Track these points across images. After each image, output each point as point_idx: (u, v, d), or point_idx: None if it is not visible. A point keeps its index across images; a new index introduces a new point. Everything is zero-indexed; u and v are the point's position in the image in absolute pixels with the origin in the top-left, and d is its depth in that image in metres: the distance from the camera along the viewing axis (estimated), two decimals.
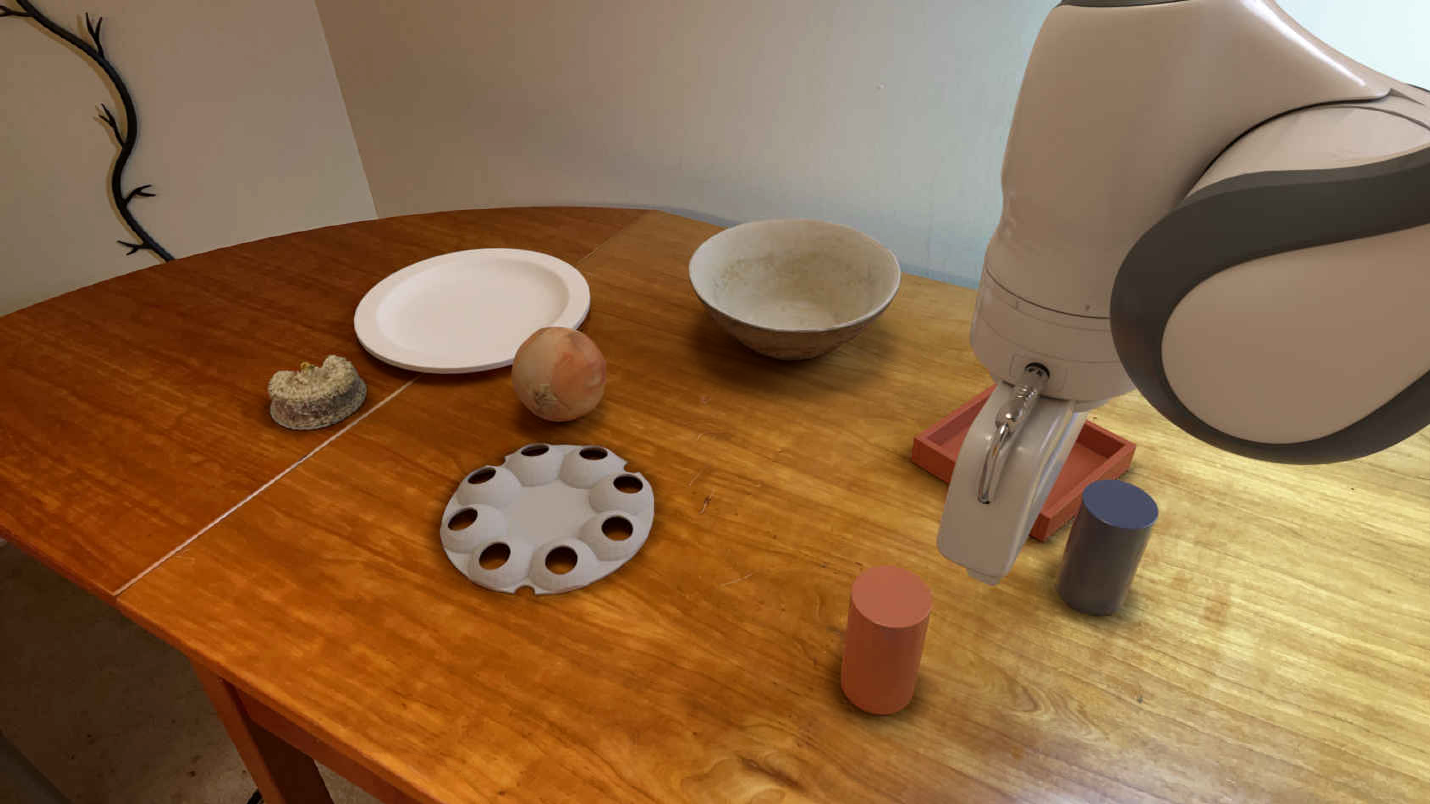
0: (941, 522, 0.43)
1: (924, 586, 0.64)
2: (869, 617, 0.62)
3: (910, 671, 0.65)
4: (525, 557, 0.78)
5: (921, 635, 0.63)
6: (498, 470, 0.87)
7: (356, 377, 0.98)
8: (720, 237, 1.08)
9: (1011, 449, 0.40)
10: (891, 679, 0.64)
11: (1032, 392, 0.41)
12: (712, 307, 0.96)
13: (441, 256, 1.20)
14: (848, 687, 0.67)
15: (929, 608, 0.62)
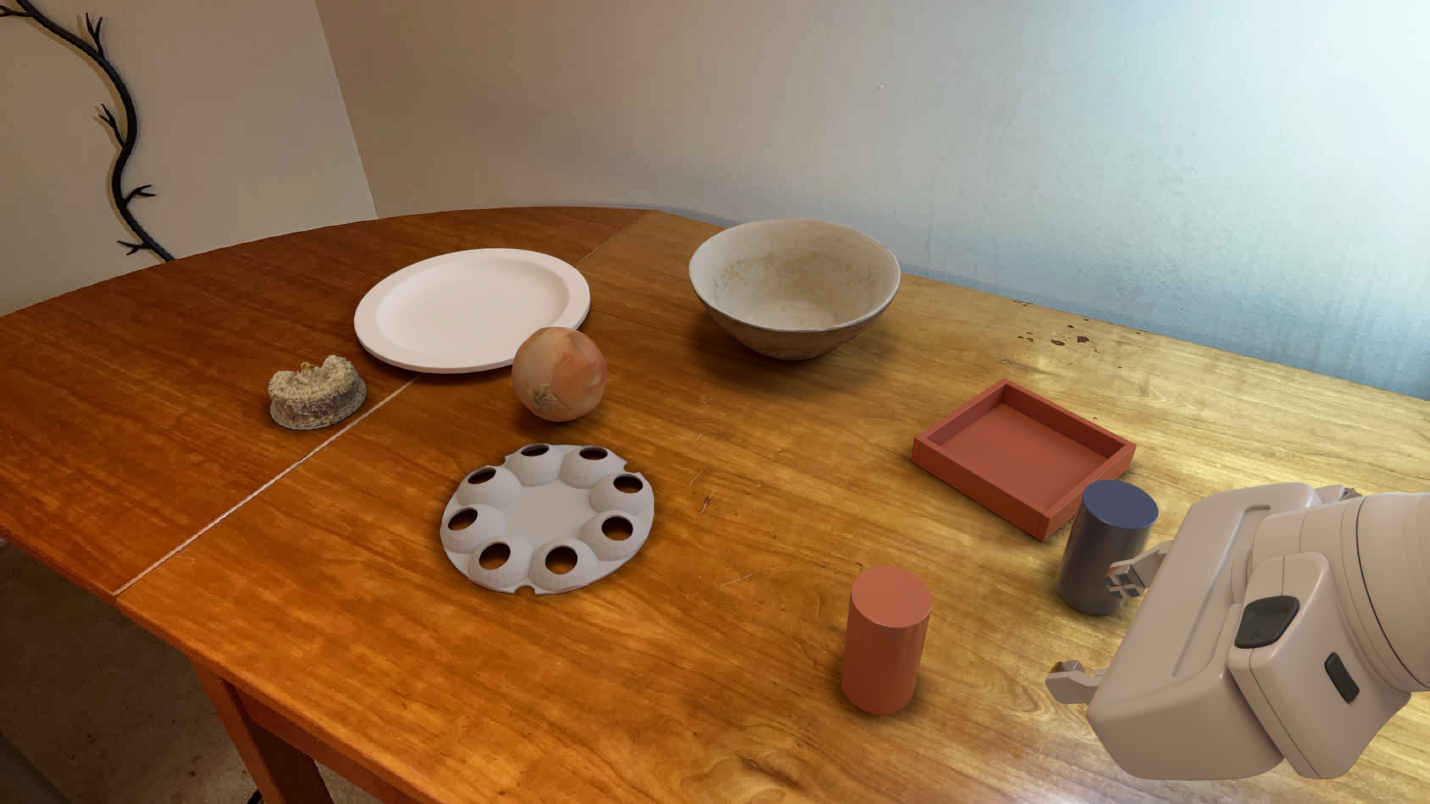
0: None
1: (924, 586, 0.64)
2: (869, 617, 0.62)
3: (910, 671, 0.65)
4: (525, 557, 0.78)
5: (921, 635, 0.63)
6: (498, 470, 0.87)
7: (356, 377, 0.98)
8: (720, 237, 1.08)
9: (1322, 501, 0.50)
10: (891, 679, 0.64)
11: None
12: (712, 307, 0.96)
13: (441, 256, 1.20)
14: (848, 687, 0.67)
15: (929, 608, 0.62)
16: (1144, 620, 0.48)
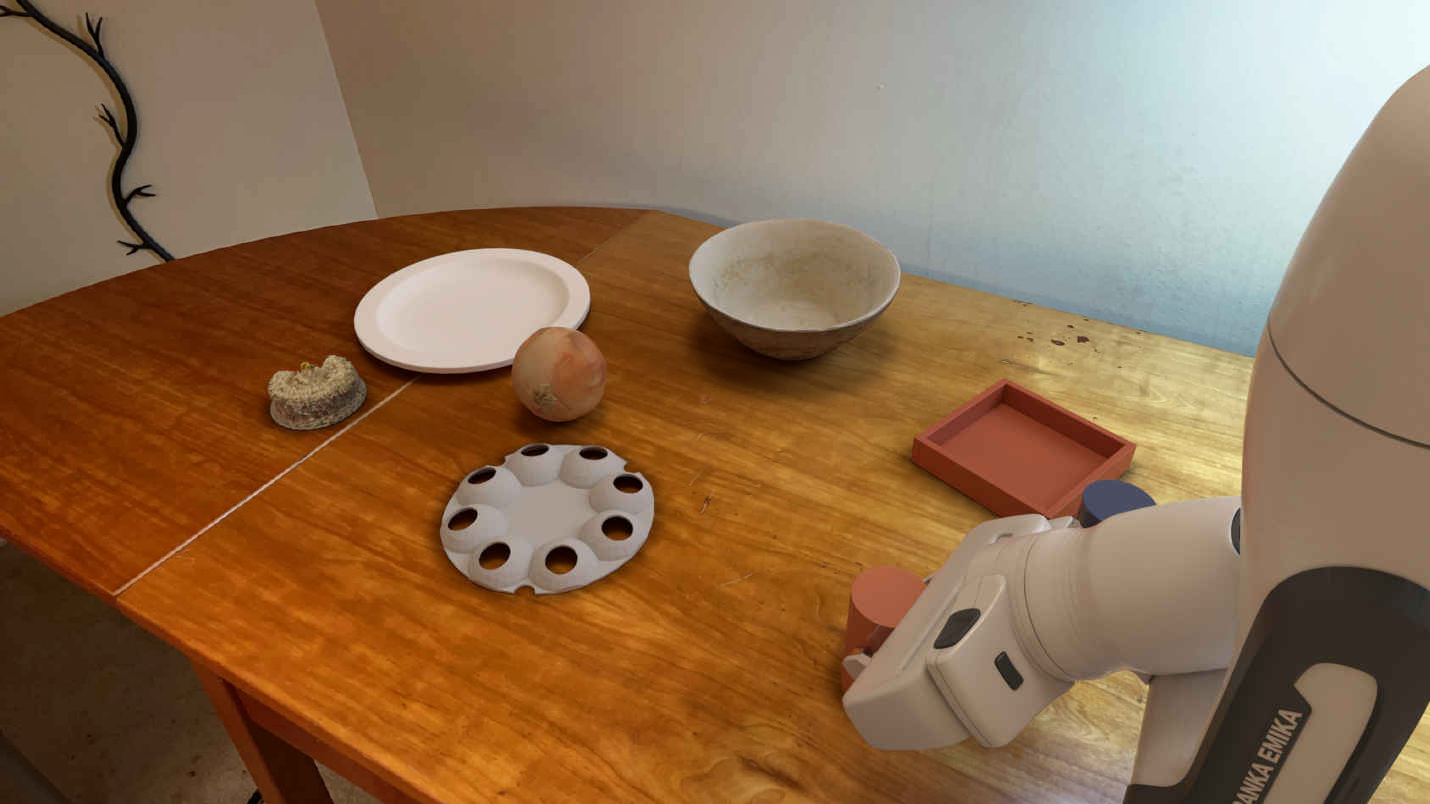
0: None
1: (924, 586, 0.64)
2: (869, 617, 0.62)
3: None
4: (525, 557, 0.78)
5: None
6: (498, 470, 0.87)
7: (356, 377, 0.98)
8: (720, 237, 1.08)
9: None
10: None
11: None
12: (712, 307, 0.96)
13: (441, 256, 1.20)
14: (848, 687, 0.67)
15: None
16: (902, 626, 0.60)
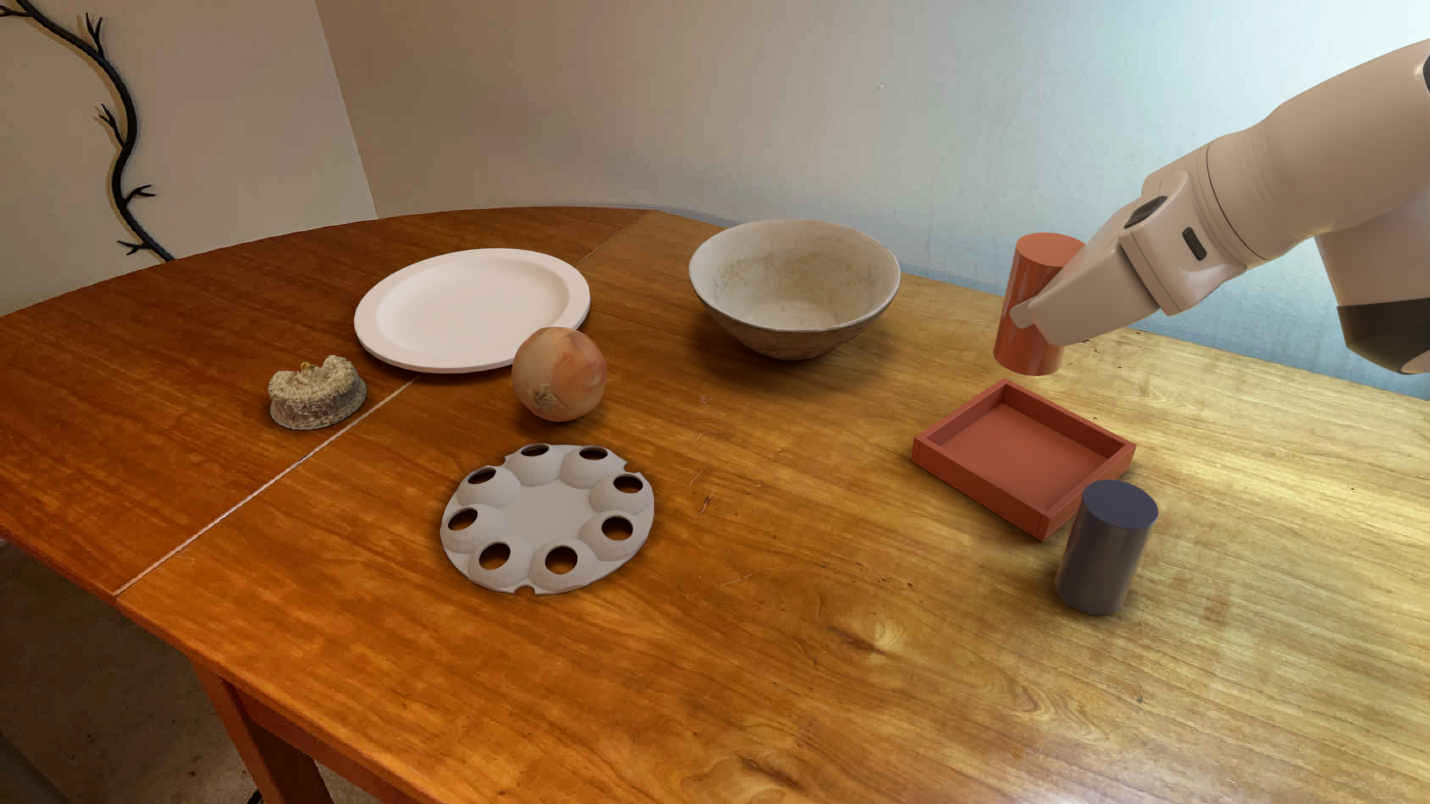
0: None
1: (1082, 243, 0.70)
2: (1037, 261, 0.68)
3: None
4: (525, 557, 0.78)
5: None
6: (498, 470, 0.87)
7: (356, 377, 0.98)
8: (720, 237, 1.08)
9: None
10: None
11: None
12: (712, 307, 0.96)
13: (441, 256, 1.20)
14: (1005, 353, 0.74)
15: None
16: (1072, 261, 0.66)
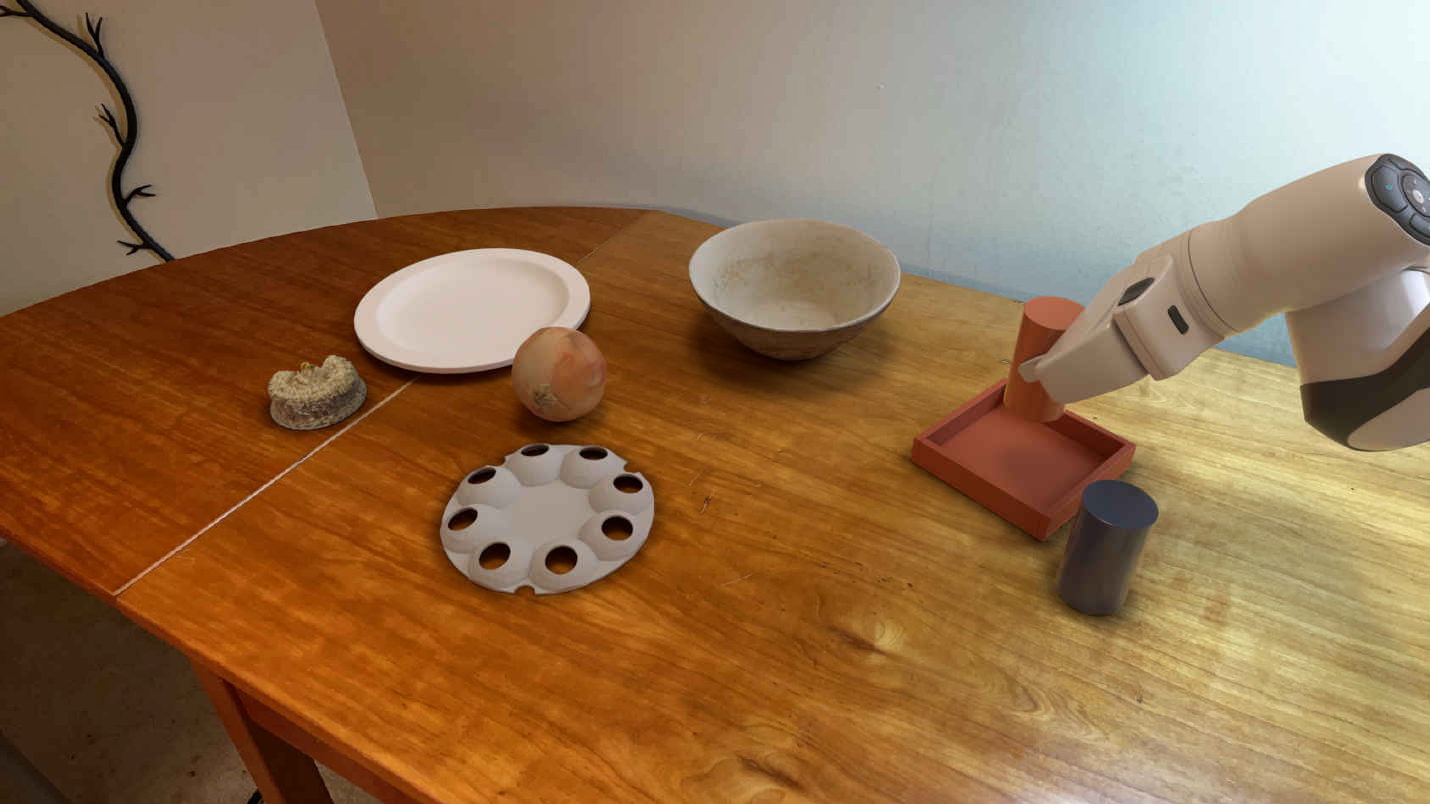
0: None
1: (1082, 307, 0.79)
2: (1042, 324, 0.77)
3: None
4: (525, 557, 0.78)
5: None
6: (498, 470, 0.87)
7: (356, 377, 0.98)
8: (720, 237, 1.08)
9: None
10: None
11: None
12: (712, 307, 0.96)
13: (441, 256, 1.20)
14: (1014, 401, 0.83)
15: None
16: (1073, 326, 0.76)
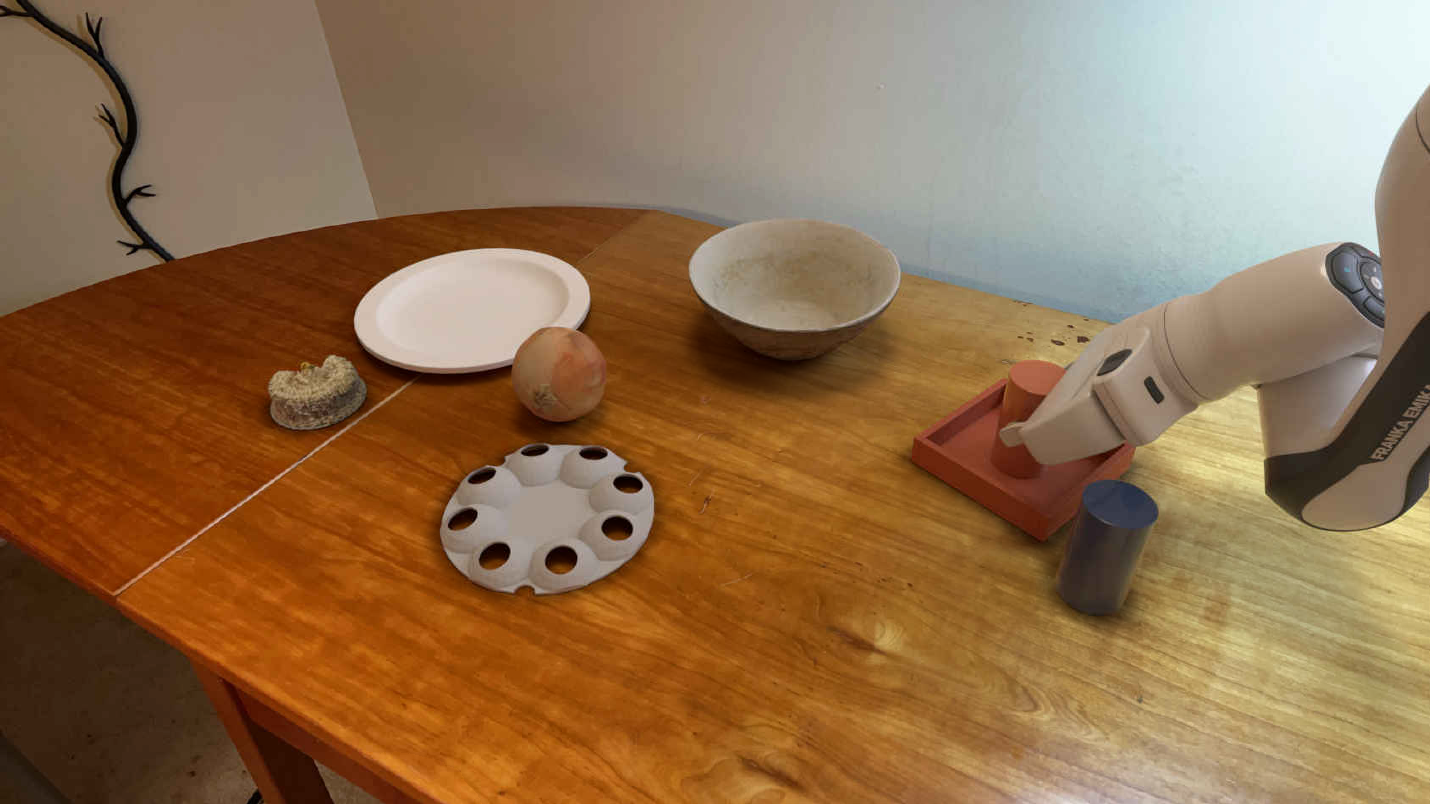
0: None
1: (1065, 371, 0.84)
2: (1027, 389, 0.81)
3: None
4: (525, 557, 0.78)
5: None
6: (498, 470, 0.87)
7: (356, 377, 0.98)
8: (720, 237, 1.08)
9: None
10: None
11: None
12: (712, 307, 0.96)
13: (441, 256, 1.20)
14: (1000, 459, 0.87)
15: None
16: (1057, 388, 0.80)
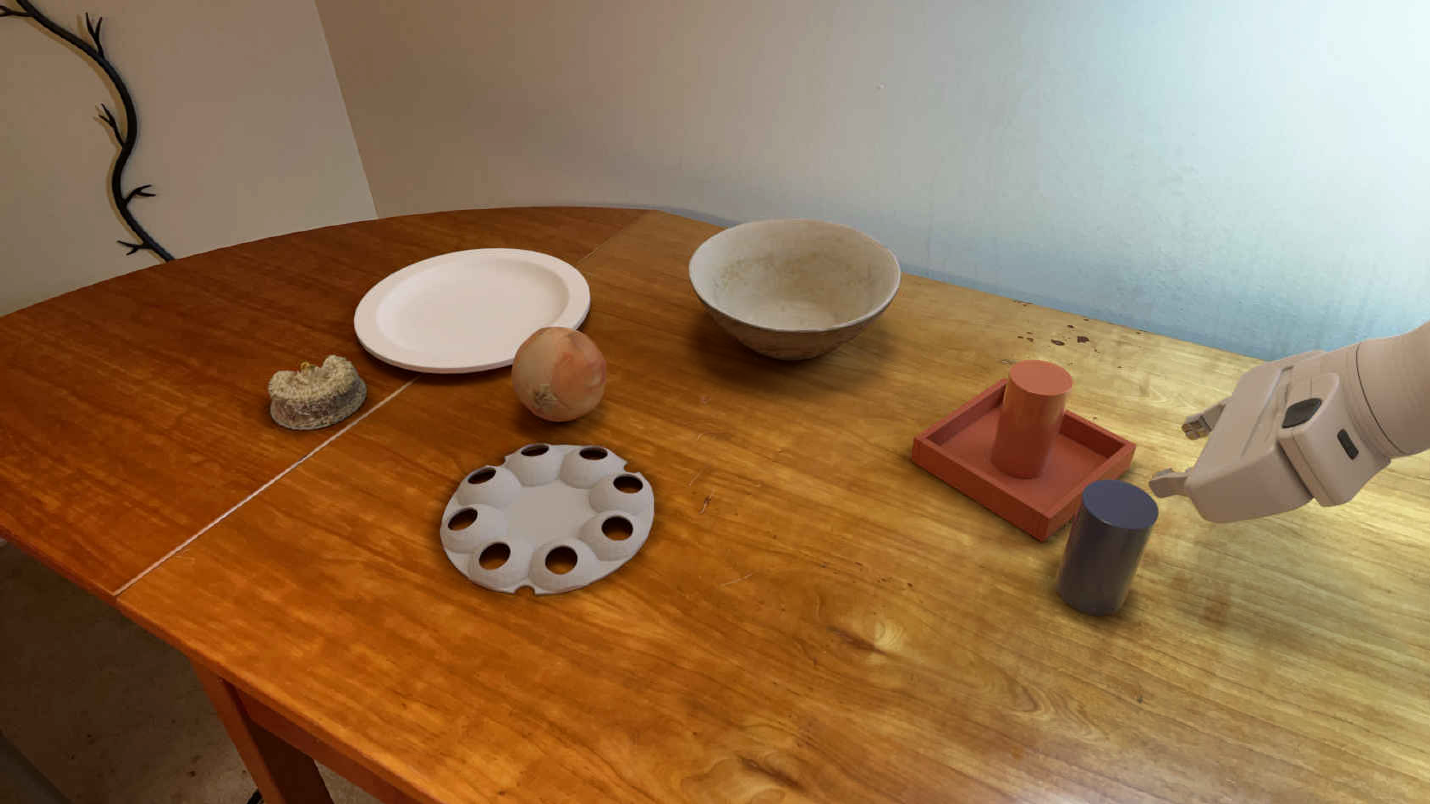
0: None
1: (1065, 371, 0.84)
2: (1027, 389, 0.81)
3: (1052, 439, 0.84)
4: (525, 557, 0.78)
5: (1064, 406, 0.83)
6: (498, 470, 0.87)
7: (356, 377, 0.98)
8: (720, 237, 1.08)
9: None
10: (1039, 444, 0.84)
11: None
12: (712, 307, 0.96)
13: (441, 256, 1.20)
14: (1000, 459, 0.87)
15: (1071, 384, 0.82)
16: (1217, 435, 0.73)
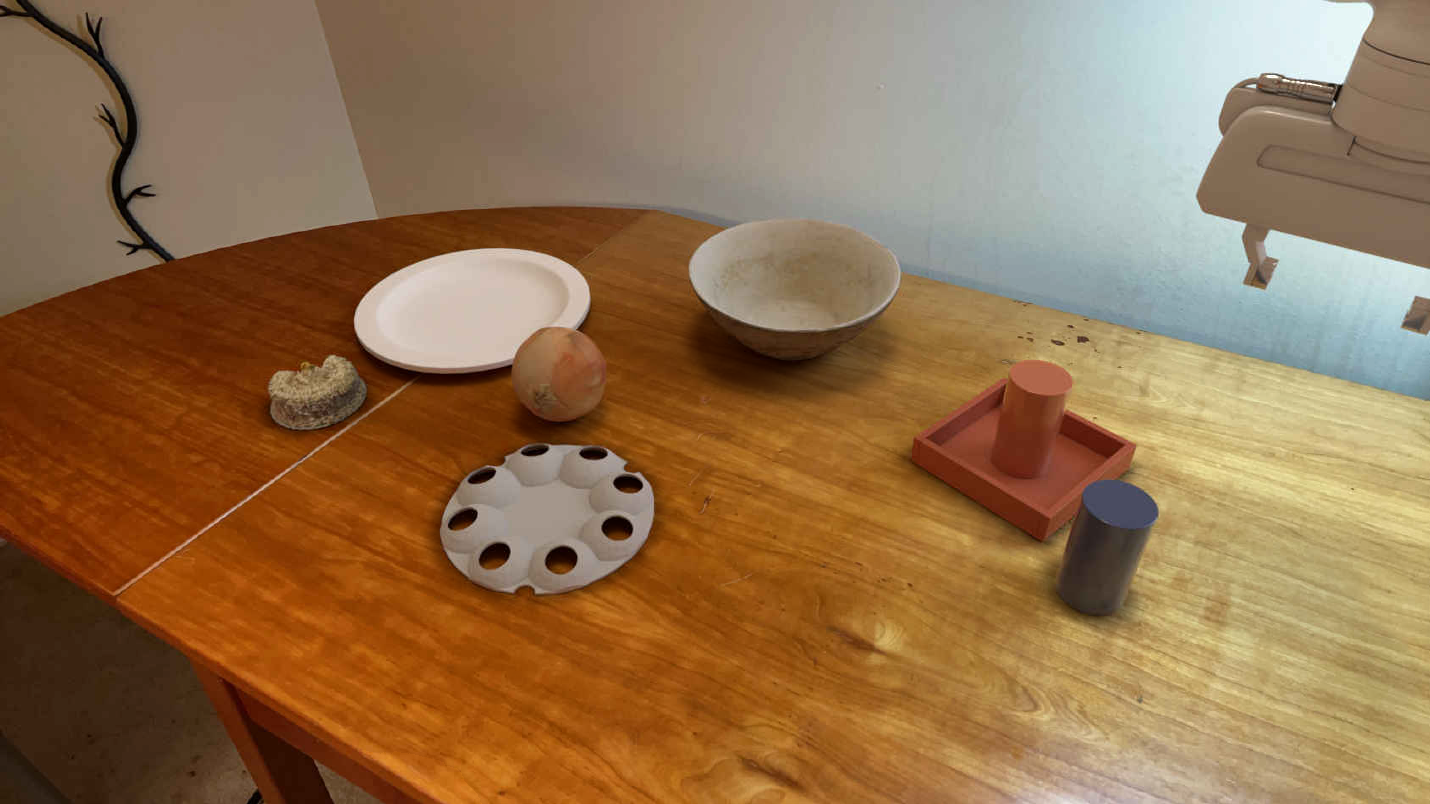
0: None
1: (1065, 371, 0.84)
2: (1027, 389, 0.81)
3: (1052, 439, 0.84)
4: (525, 557, 0.78)
5: (1064, 406, 0.83)
6: (498, 470, 0.87)
7: (356, 377, 0.98)
8: (720, 237, 1.08)
9: (1255, 105, 0.58)
10: (1039, 444, 0.84)
11: (1304, 84, 0.56)
12: (712, 307, 0.96)
13: (441, 256, 1.20)
14: (1000, 459, 0.87)
15: (1071, 384, 0.82)
16: (1411, 249, 0.55)
